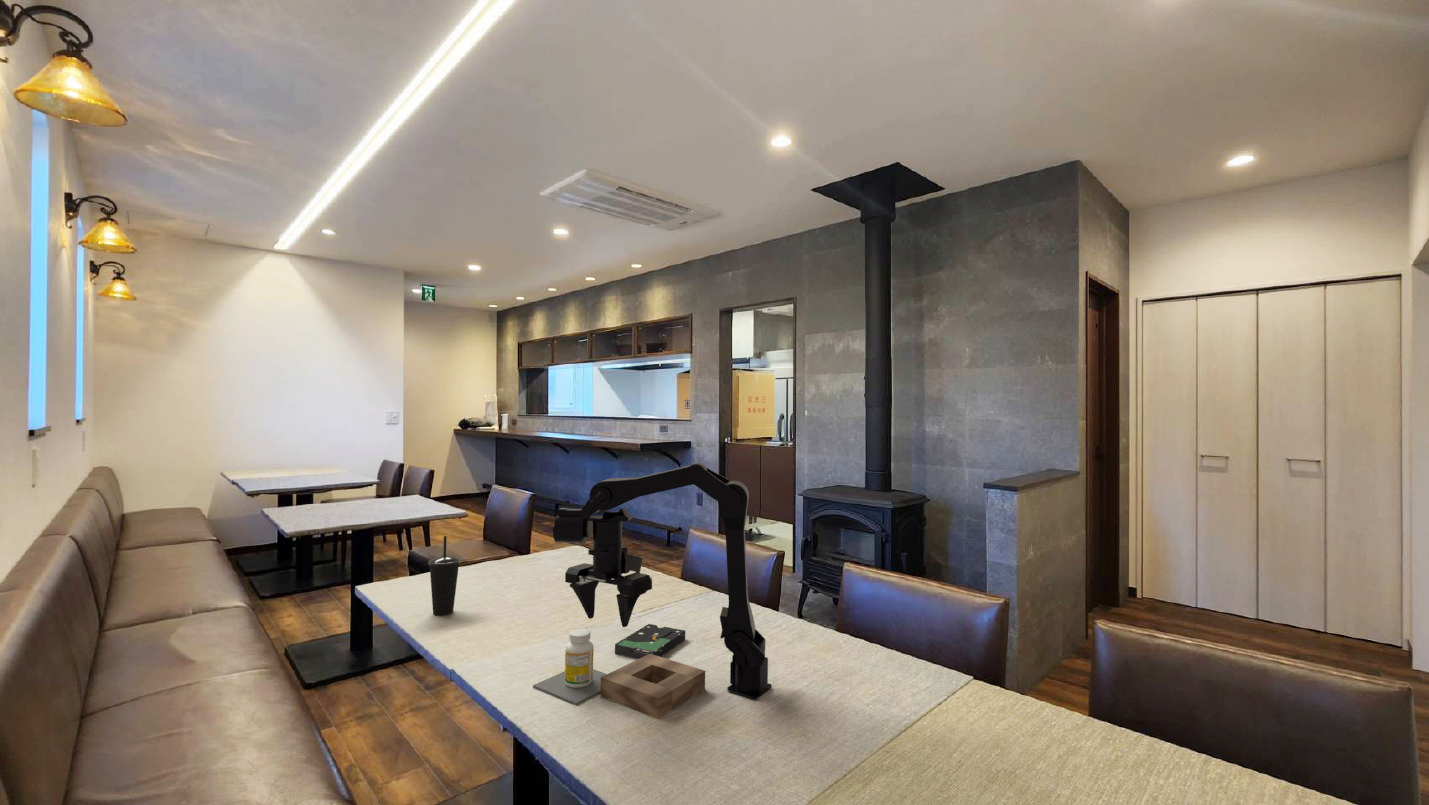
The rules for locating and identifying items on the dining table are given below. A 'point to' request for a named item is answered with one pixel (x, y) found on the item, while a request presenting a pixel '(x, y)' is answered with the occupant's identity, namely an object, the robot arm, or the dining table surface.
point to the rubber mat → (570, 688)
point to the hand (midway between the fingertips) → (607, 622)
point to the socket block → (652, 685)
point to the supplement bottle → (579, 659)
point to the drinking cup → (443, 582)
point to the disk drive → (650, 641)
